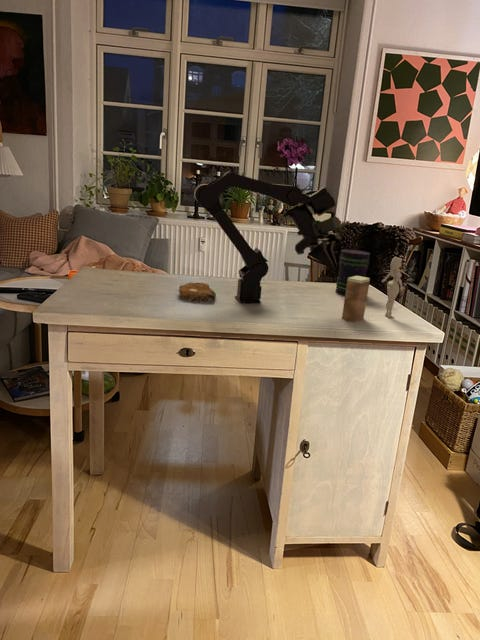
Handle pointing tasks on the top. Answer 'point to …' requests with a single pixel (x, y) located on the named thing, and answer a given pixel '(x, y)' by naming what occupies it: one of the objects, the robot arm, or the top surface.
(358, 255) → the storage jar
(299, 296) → the top surface
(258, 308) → the top surface
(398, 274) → the human figurine
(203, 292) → the decorative rock
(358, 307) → the walnut block
